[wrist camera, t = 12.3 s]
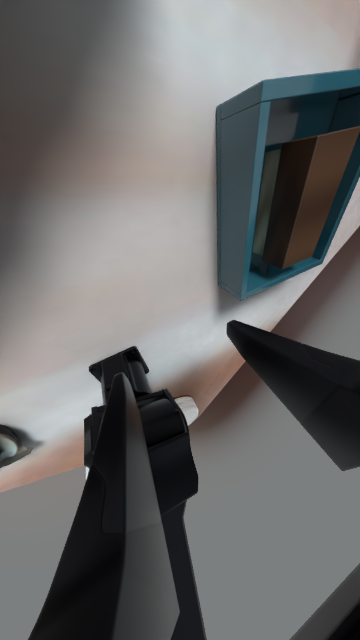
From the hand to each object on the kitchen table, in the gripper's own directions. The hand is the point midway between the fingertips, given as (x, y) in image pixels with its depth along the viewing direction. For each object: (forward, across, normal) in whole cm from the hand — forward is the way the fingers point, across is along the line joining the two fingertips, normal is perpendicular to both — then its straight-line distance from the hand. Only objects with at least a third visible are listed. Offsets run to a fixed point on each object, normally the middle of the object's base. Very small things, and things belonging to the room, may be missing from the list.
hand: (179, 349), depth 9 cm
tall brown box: (+11, -17, -2) cm, 20 cm away
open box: (+11, -17, -2) cm, 21 cm away
